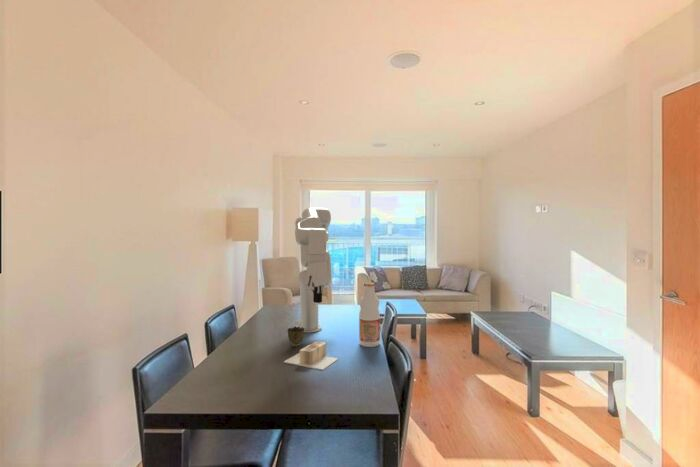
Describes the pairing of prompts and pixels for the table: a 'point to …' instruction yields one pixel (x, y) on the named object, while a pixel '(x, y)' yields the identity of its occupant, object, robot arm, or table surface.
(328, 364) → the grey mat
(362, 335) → the fruit juice
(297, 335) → the cup
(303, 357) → the maple block
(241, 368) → the table surface
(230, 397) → the table surface
